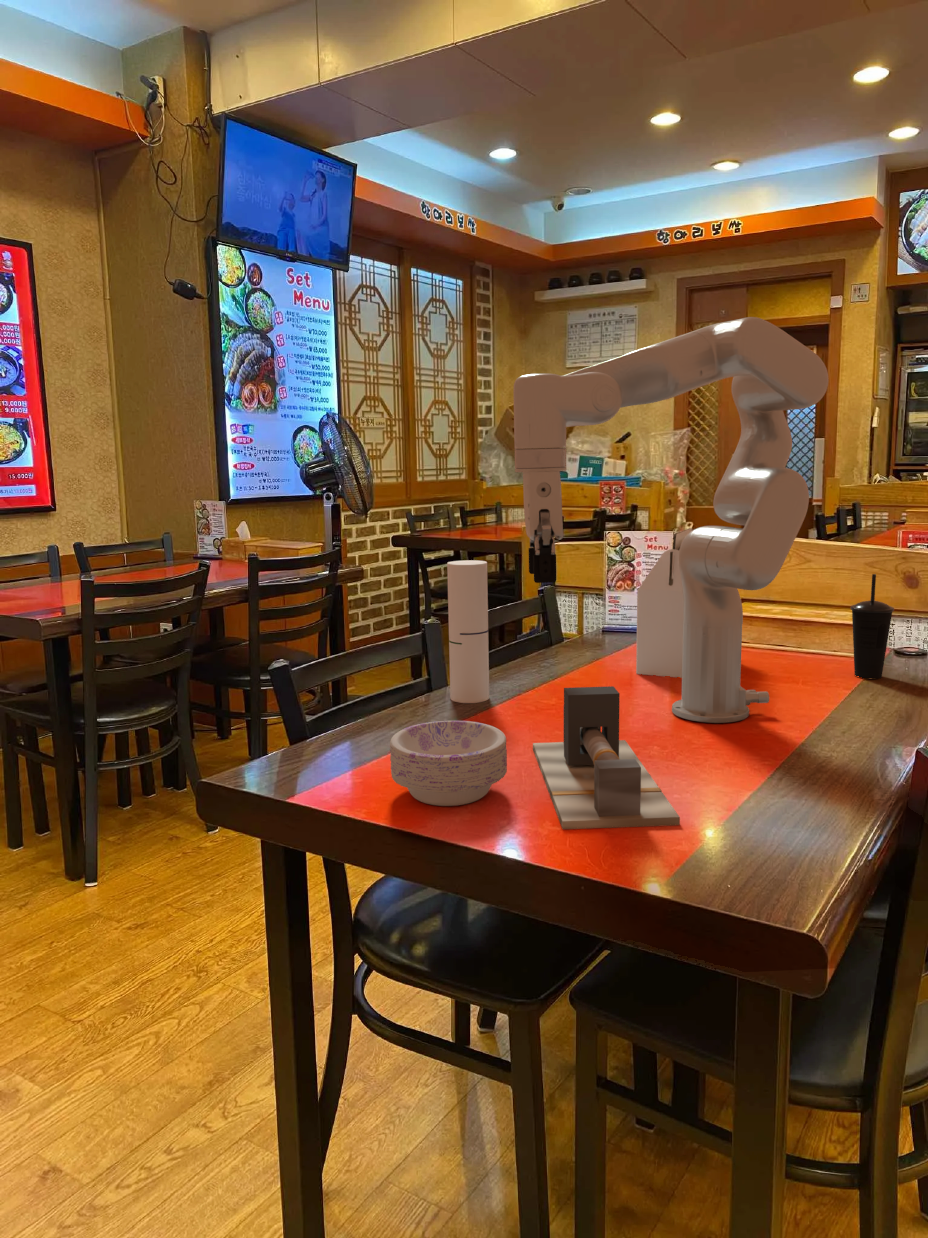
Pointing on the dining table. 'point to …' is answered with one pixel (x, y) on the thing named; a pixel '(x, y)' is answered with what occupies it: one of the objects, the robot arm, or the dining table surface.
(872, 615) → the drinking cup
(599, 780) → the pipe rig
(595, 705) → the collar
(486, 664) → the cylindrical container
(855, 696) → the dining table surface
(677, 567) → the gable box
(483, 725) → the paper bowls
